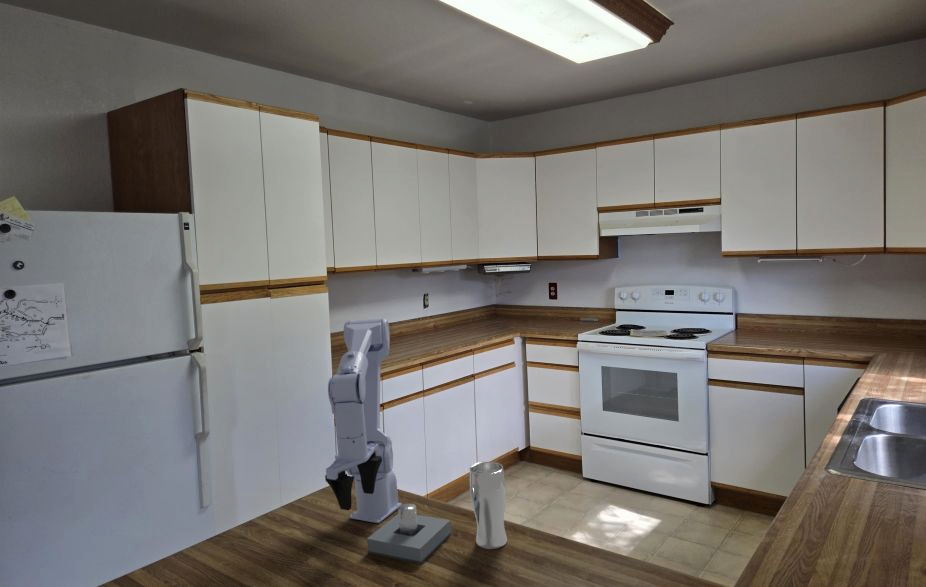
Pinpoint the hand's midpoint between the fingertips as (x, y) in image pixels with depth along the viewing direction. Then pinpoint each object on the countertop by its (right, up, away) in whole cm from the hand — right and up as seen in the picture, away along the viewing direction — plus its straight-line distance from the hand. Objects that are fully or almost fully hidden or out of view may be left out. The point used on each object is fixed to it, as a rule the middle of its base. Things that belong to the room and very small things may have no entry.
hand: (357, 500), depth 124 cm
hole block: (+10, -9, 0) cm, 14 cm away
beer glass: (+27, -8, -1) cm, 28 cm away
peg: (+10, -8, 0) cm, 13 cm away
